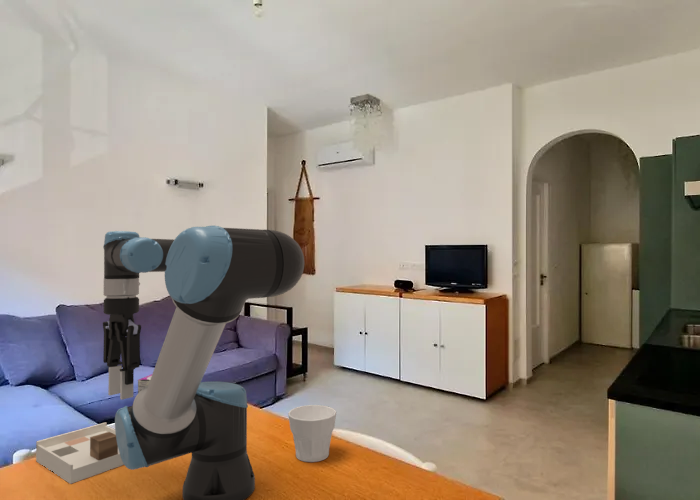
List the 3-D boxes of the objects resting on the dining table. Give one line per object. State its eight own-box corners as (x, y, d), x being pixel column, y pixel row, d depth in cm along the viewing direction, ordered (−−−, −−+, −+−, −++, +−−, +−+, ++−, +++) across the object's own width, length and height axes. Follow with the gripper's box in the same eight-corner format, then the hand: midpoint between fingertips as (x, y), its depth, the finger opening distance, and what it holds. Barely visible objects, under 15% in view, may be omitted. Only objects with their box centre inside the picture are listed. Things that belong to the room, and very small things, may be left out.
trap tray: (142, 458, 117) (142, 438, 117) (70, 483, 103) (70, 461, 103) (105, 440, 129) (105, 422, 129) (36, 461, 115) (36, 441, 115)
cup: (325, 469, 110) (325, 422, 111) (279, 461, 114) (279, 417, 115) (343, 449, 122) (342, 407, 122) (300, 443, 126) (300, 402, 126)
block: (117, 454, 112) (117, 435, 112) (98, 460, 109) (98, 441, 109) (108, 449, 115) (109, 431, 115) (90, 455, 111) (90, 437, 111)
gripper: (157, 297, 106) (156, 398, 105) (118, 294, 116) (117, 386, 116) (125, 299, 100) (124, 407, 99) (87, 296, 110) (86, 393, 110)
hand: (120, 395), depth 107 cm, fingers open, 5 cm apart
